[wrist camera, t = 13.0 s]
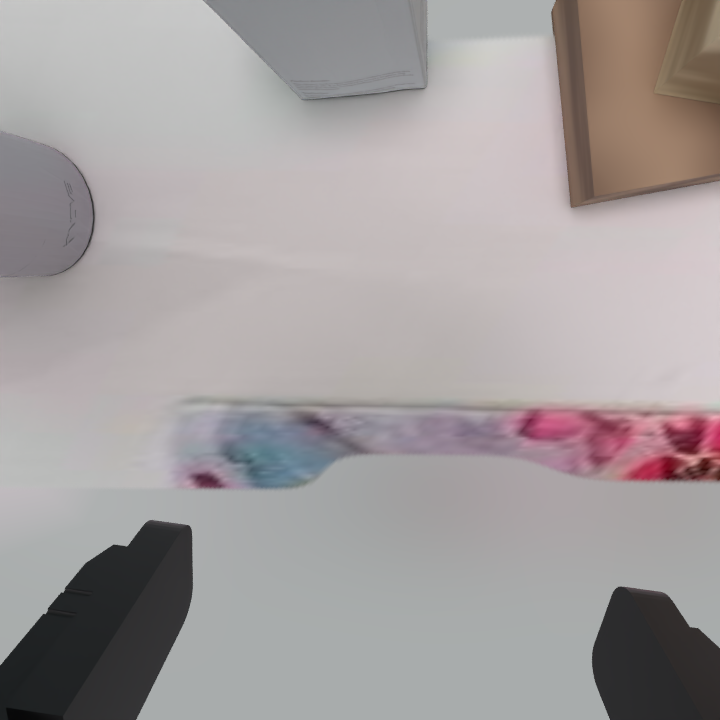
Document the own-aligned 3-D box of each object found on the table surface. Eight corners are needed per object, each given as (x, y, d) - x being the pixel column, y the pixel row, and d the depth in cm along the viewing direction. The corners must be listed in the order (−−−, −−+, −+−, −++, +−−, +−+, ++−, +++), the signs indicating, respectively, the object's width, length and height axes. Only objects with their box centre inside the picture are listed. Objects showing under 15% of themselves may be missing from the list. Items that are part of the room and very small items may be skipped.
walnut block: (569, 208, 30) (594, 196, 25) (550, 12, 28) (573, -42, 23) (773, 171, 28) (844, 150, 23) (767, -43, 26) (842, -115, 21)
